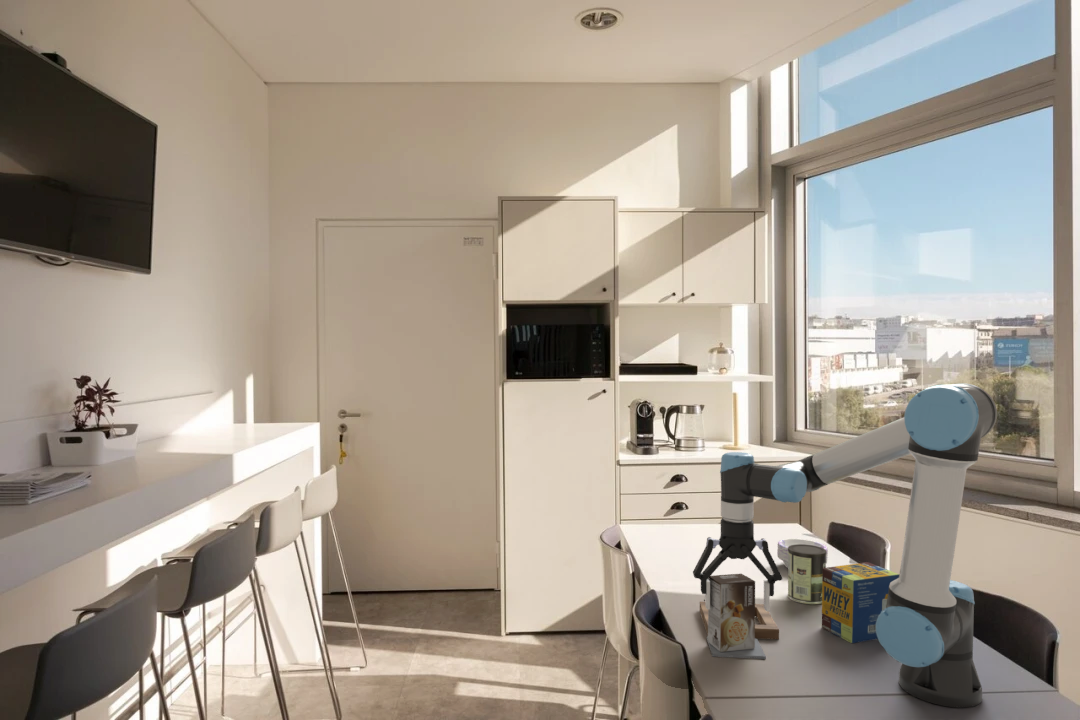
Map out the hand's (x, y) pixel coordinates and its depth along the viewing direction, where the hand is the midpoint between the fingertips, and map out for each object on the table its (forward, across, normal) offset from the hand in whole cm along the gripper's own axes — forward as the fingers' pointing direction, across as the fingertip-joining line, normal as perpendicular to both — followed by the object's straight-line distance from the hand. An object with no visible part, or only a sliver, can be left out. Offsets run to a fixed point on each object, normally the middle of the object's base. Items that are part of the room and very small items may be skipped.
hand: (736, 608), depth 168 cm
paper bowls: (+10, -32, -65) cm, 73 cm away
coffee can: (+10, -26, -37) cm, 46 cm away
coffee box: (+9, +1, 0) cm, 9 cm away
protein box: (+10, -33, -14) cm, 37 cm away
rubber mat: (+10, 0, 0) cm, 10 cm away
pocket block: (+10, -3, -15) cm, 18 cm away
